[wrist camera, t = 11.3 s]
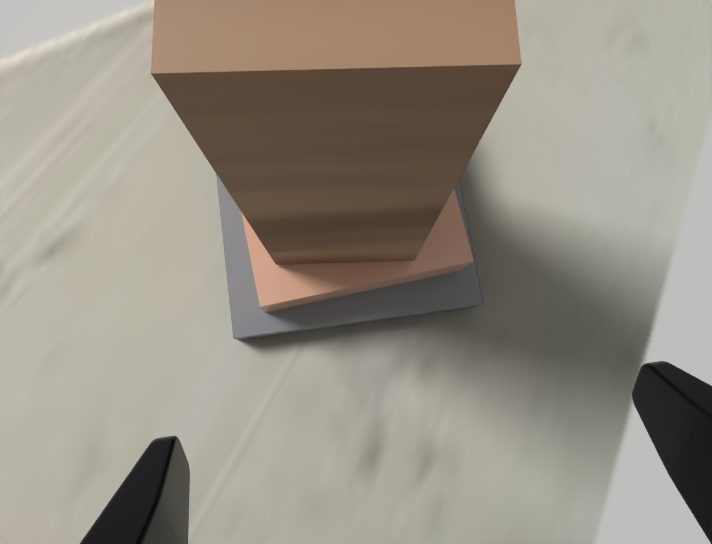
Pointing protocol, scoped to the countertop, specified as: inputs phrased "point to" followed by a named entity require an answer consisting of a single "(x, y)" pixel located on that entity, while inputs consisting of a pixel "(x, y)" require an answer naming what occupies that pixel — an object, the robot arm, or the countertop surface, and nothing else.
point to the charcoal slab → (341, 310)
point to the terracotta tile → (358, 267)
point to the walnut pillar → (337, 111)
